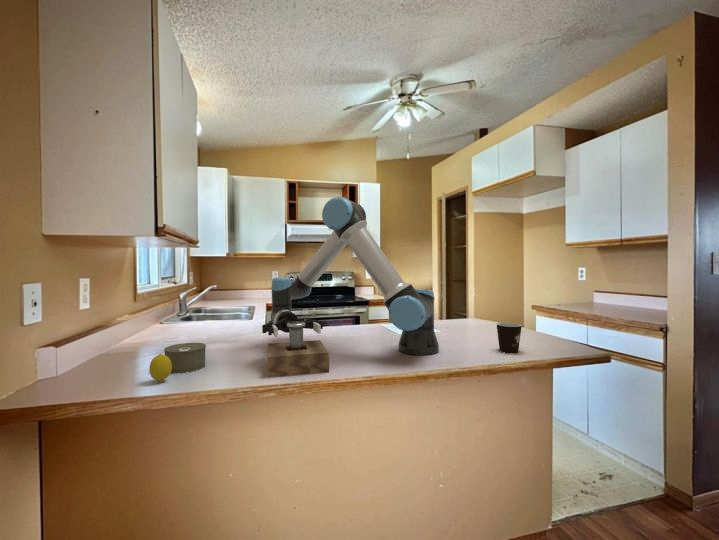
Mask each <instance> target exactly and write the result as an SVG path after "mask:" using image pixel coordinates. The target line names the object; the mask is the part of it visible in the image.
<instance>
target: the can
mask: <svg viewBox="0 0 719 540" xmlns="http://www.w3.org/2000/svg"><path fill="white" fill-rule="evenodd" d="M206 347H207V345H206V344H205V343H203V342H185V343H177V344H173V345H169V346H166V347H165V348H164V349H163V351H164V355H166V356H167V357H169V359H170V360H171V363H172V370H171V373H170V374H173V373H180V374H187V373H186V372H189V373H194V372H196V371H197V370H198V371H201V370H203V369H204V368H205V367H206ZM202 368H203V369H202ZM200 369H201V370H200ZM193 371H194V372H193ZM198 371H197V372H198Z"/></svg>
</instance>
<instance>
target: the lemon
mask: <svg viewBox="0 0 719 540" xmlns="http://www.w3.org/2000/svg"><path fill="white" fill-rule="evenodd" d="M148 368H149V369H148V371H149V374H150V377H151V378H152V379H153V380H157V381H158V382H159V383H161V382H163V381H164V380H166V379H167V378H168V377H169V376H170V375H171V374H172V373H171V370H172V363H171V360H170V359H169V357H167V356H166V355H165V354H163V353H159V354H157V355H156V356H154V357H153V358H152V359H151V361H150V363H149V367H148Z"/></svg>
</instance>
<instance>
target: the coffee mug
mask: <svg viewBox="0 0 719 540" xmlns="http://www.w3.org/2000/svg"><path fill="white" fill-rule="evenodd" d="M522 326H523V325H522V324H520V323H517V322H498V323H496V329H497V330H496V331H497V339H498V349H499V352H500V351H501V353H503V352H505V353H504V354H509V353H515V354H518V353H519V350H520V344H521V343H520V341H521V333H522Z"/></svg>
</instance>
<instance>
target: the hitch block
mask: <svg viewBox="0 0 719 540" xmlns="http://www.w3.org/2000/svg"><path fill="white" fill-rule="evenodd" d="M324 373H330V352H329V350H328V349H327V347H326V346H325V345H324V344H323V342H322V340H320V339H319V340H318V339H317V340H303V350H293V351H290V348H289V341H287V342H272V343H271V342H270V343H267V377H269V378H277V377H289V376H290V377H291V376H300V375H301V376H302V375H313V374H324Z"/></svg>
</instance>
